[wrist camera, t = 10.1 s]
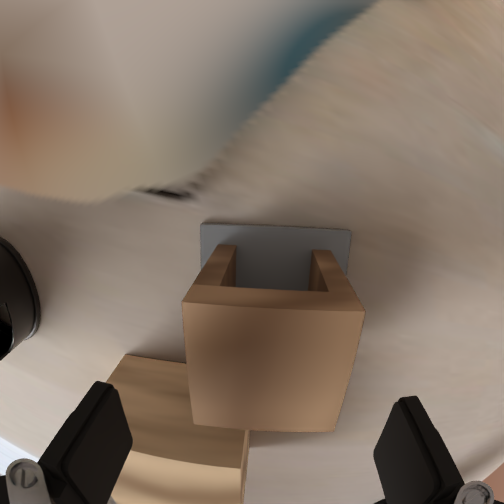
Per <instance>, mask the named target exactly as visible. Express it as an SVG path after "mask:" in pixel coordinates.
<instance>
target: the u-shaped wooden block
mask: <svg viewBox="0 0 504 504" xmlns="http://www.w3.org/2000/svg"><path fill="white" fill-rule="evenodd" d="M365 312H366V311H365V309H364V308H363V306H362V304H361V302H360V300H359V299H358V297H357V295H356V293H355V292H354V290H353V288H352V286H351V285H350V283H349V281H348V279H347V278H346V276H345V274H344V272H343V271H342V269H341V267H340V266H339V264H338V262H337V260H336V259H335V257H334V255H333V254H332V252H331V250H317V249H312V255H311V265H310V275H309V285H308V291H295V290H275V289H256V288H240V287H236V245H222V244H218V245H217V246H216V248H215V249H214V251H213V253H212V254H211V256H210V257H209V259H208V260H207V262H206V264H205V265H204V267H203V268H202V270H201V272H200V273H199V275H198V276H197V278H196V280H195V281H194V283H193V284H192V286H191V288H190V289H189V291H188V292H187V294H186V296H185V297H184V299H183V300H182V316H183V329H184V341H185V353H186V363H187V373H188V382H189V391H190V400H191V408H192V415H193V423H194V424H197V425H205V426H213V427H221V428H231V429H243V430H257V431H277V432H330V431H334V429H335V426H336V423H337V419H338V416H339V413H340V410H341V407H342V403H343V400H344V397H345V393H346V390H347V386H348V383H349V379H350V375H351V372H352V368H353V364H354V360H355V356H356V352H357V348H358V344H359V339H360V335H361V331H362V326H363V322H364V317H365Z"/></svg>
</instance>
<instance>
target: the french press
mask: <svg viewBox="0 0 504 504" xmlns="http://www.w3.org/2000/svg"><path fill="white" fill-rule="evenodd" d="M4 303H5V304H6V307H7V310H8V313H9V316H10V320H11V325H12V326H9V325H7V324H5V323H4V322H3V321H1V320H0V361H1V360H2V359H3V358H4V357H5V356H6V355H7V354H8V353H10V352H11V351H12V350H13V349H14V348H15V347H16V346H17V345H19V344H20V343H21V342H22V341H23V340H27V339H29V338H31V337H32V336H33V335H34V334H35V332H36V331H37V329H38V326H39V322H40V304H39V299H38V294H37V291H36V287H35V284H34V281H33V279H32V277H31V274H30V272H29V270H28V268H27V266H26V264H25V262H24V261H23V259H22V258H21V256H20V255H19V253H18V252H17V251H16V250H15V249H14V248H13V246H12V245H10V244H9V243H8V242H7V241H6V240H4V239H2V238H0V306H1V305H3V304H4Z"/></svg>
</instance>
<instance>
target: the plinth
mask: <svg viewBox="0 0 504 504" xmlns="http://www.w3.org/2000/svg"><path fill="white" fill-rule="evenodd" d="M106 383H109V384H112V385H113V386H114V388H115V389H117V390H118V392H119V396H120V399H121V403H122V406H123V410H124V413H125V416H126V419H127V422H128V426H129V429H130V432H131V435H132V438H133V444H132V448H131V450H130V452H129V454H128V457H127V459H126V461H125V463H124V466H123V468H122V470H121V473H120V475H119V477H118V479H117V482H116V484H115V486H114V489H113V491H112V493H111V496H112V497H113V499H114V500H115V502H116V503H117V504H243V500H244V491H245V482H246V472H247V463H248V453H249V436H250V430H243V429H231V428H221V427H213V426H205V425H197V424H194V423H193V415H192V408H191V400H190V391H189V382H188V373H187V364H186V363H178V362H171V361H164V360H157V359H150V358H144V357H138V356H132V355H126V354H125V355H124V357H123V358H122V360H121V361H120V363H119V364H118V365H117V367H116V368H115V370H114V371H113V373H112V374H111V376H110V377H109V379H108V380H107V381H106Z"/></svg>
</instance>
